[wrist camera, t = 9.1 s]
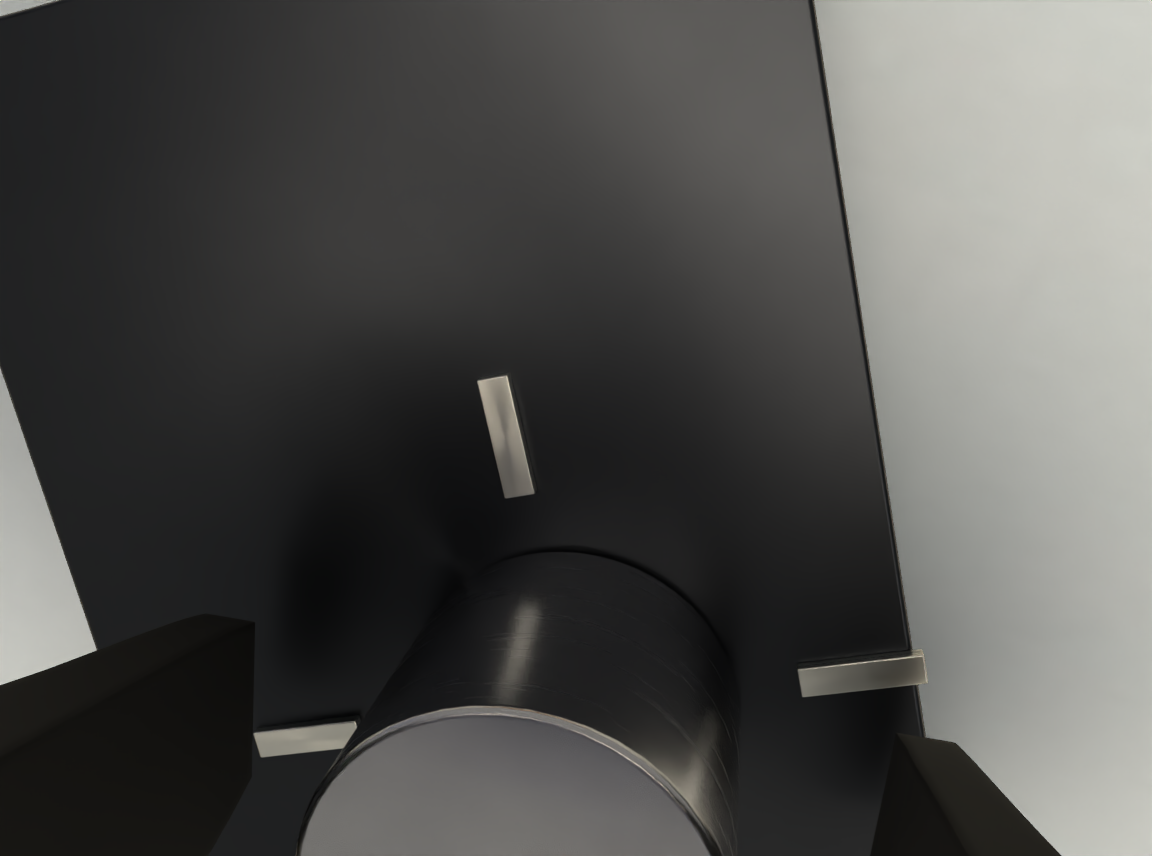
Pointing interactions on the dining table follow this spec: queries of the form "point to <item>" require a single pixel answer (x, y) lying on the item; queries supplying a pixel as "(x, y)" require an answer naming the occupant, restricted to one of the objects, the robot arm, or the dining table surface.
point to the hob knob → (544, 726)
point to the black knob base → (456, 351)
